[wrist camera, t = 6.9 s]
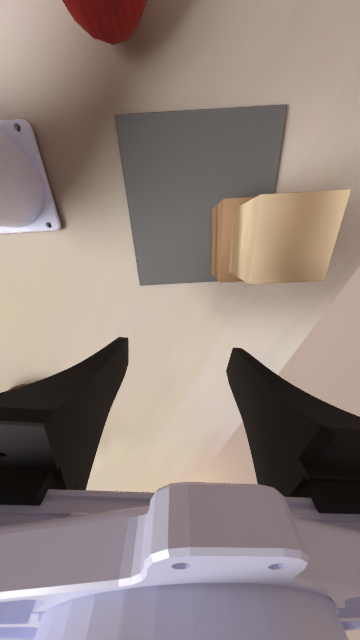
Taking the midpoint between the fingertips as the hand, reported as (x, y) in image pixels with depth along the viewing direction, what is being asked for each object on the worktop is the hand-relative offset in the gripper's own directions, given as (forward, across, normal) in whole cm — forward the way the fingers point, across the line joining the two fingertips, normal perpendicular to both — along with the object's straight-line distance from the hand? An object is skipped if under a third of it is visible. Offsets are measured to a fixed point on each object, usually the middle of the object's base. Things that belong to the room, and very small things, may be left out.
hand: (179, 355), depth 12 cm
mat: (+10, -1, -10) cm, 14 cm away
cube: (+5, -6, -8) cm, 11 cm away
